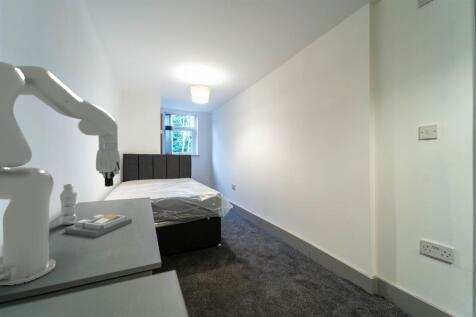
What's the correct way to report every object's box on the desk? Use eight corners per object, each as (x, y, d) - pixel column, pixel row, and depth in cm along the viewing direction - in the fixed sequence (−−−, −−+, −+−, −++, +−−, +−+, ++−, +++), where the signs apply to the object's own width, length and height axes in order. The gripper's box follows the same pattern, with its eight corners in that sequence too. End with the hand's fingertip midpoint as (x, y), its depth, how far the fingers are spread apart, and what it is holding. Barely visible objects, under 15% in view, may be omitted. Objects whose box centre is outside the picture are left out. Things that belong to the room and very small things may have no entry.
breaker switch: (103, 225, 94) (102, 223, 93) (94, 224, 95) (93, 222, 94) (116, 217, 101) (116, 214, 101) (108, 216, 102) (108, 213, 102)
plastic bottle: (62, 223, 103) (62, 184, 102) (78, 221, 105) (78, 183, 105) (57, 227, 97) (57, 185, 96) (74, 225, 100) (74, 185, 99)
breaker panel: (96, 237, 87) (96, 227, 87) (64, 232, 91) (64, 223, 91) (131, 222, 106) (131, 214, 106) (104, 218, 111) (104, 211, 110)
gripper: (88, 147, 93) (89, 186, 94) (114, 147, 89) (115, 188, 90) (102, 147, 100) (103, 183, 101) (127, 147, 96) (128, 185, 97)
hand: (109, 186), depth 95 cm, fingers closed
